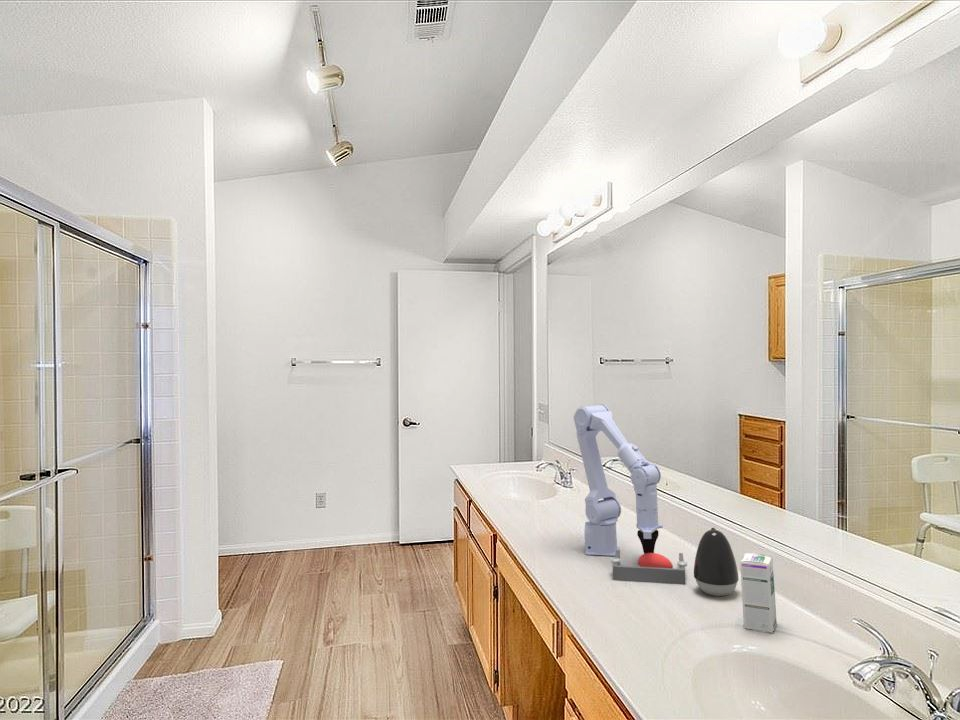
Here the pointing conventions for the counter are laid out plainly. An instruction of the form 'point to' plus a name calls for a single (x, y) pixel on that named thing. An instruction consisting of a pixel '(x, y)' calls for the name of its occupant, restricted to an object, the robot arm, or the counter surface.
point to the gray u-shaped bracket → (649, 572)
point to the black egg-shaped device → (715, 564)
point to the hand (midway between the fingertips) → (649, 557)
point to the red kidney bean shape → (654, 561)
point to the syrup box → (758, 592)
